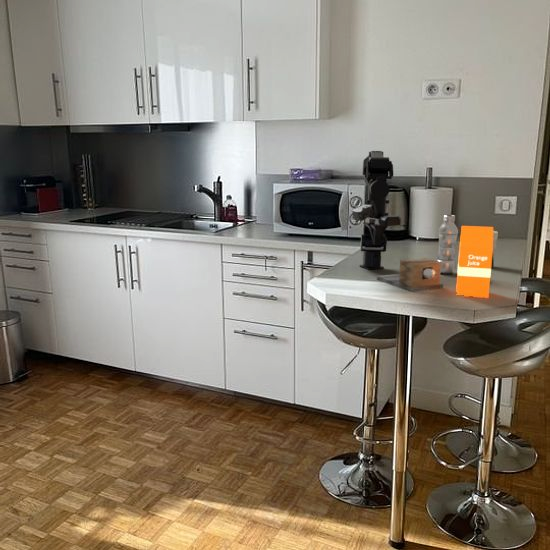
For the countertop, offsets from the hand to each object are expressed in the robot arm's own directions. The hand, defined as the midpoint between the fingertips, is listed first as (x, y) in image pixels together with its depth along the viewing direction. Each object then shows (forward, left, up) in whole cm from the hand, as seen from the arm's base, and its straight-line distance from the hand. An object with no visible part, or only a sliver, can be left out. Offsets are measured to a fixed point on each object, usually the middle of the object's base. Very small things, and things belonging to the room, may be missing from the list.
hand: (375, 244), depth 181 cm
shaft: (+17, +5, -9) cm, 20 cm away
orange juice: (+30, +14, -11) cm, 35 cm away
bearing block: (+12, +5, -11) cm, 17 cm away
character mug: (+2, +47, -11) cm, 48 cm away
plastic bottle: (+5, +26, -11) cm, 29 cm away
